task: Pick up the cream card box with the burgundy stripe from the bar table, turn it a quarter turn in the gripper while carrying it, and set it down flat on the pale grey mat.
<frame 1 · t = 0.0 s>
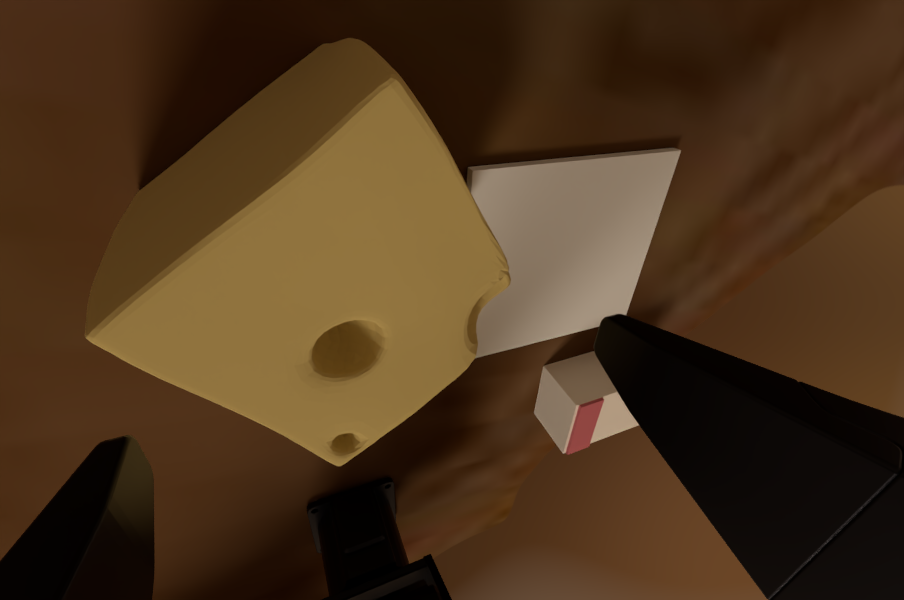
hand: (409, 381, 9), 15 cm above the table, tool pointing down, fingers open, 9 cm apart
cheese: (308, 200, 21), on the table
card box: (580, 375, 38), on the table
grey mat: (559, 256, 29), on the table
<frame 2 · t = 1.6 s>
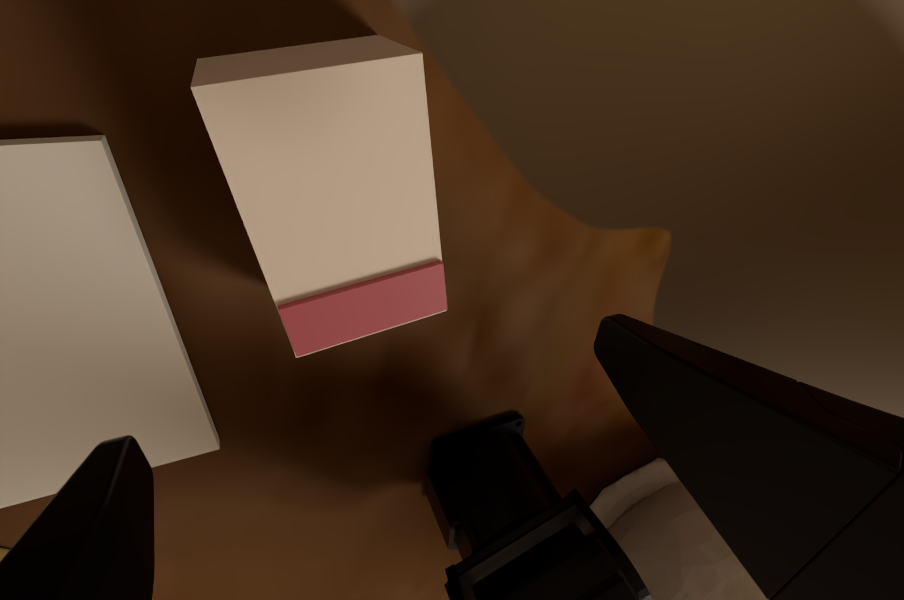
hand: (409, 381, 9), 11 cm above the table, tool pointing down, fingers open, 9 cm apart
card box: (324, 175, 17), on the table
ceramic pitcher: (618, 497, 46), on the table
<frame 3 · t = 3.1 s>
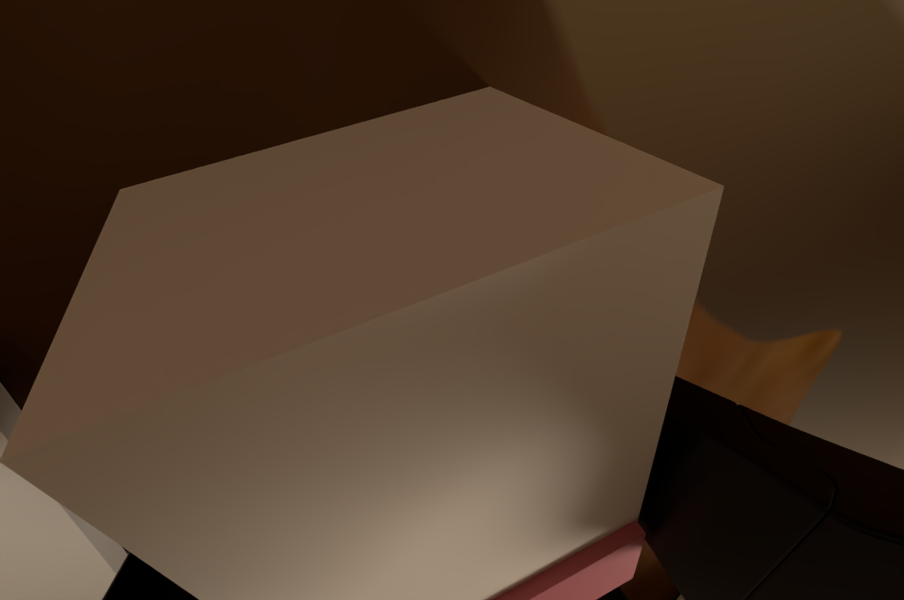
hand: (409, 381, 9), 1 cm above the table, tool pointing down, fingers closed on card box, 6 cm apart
card box: (388, 338, 9), on the table, touching gripper
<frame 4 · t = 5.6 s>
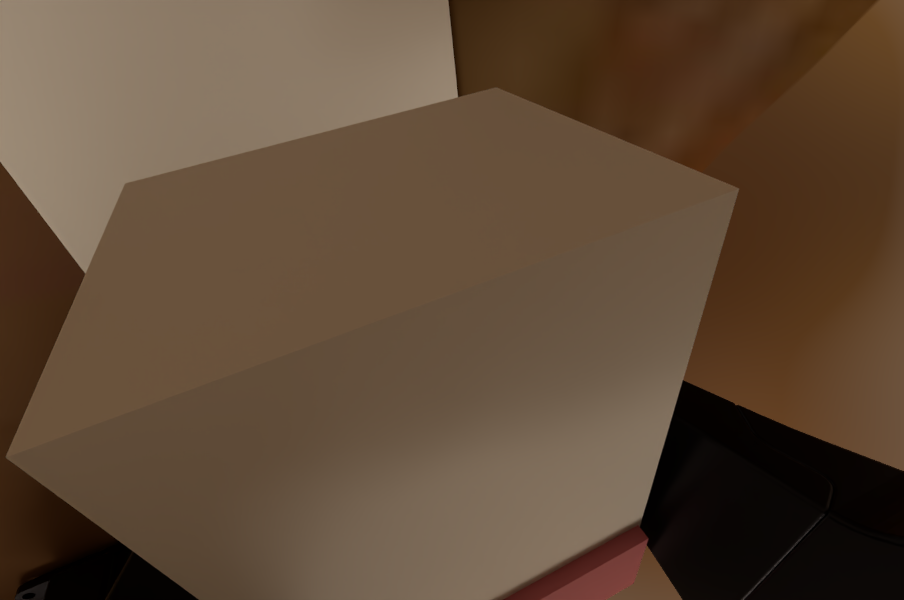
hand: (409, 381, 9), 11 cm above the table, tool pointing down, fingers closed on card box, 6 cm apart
card box: (390, 339, 9), point 10 cm above the table, touching gripper
grey mat: (265, 134, 15), on the table
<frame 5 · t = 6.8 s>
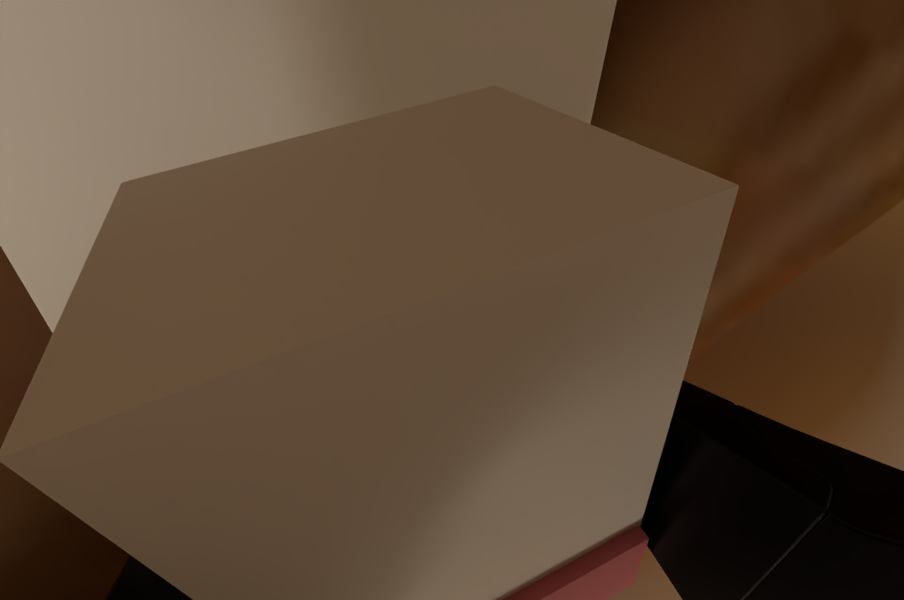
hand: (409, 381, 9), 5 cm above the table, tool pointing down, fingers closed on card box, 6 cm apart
card box: (389, 338, 9), point 4 cm above the table, touching gripper
grey mat: (349, 245, 13), on the table
when the fingers open (3 cm above the table, at t = 7.7 s): card box drops 2 cm, resting on grey mat.
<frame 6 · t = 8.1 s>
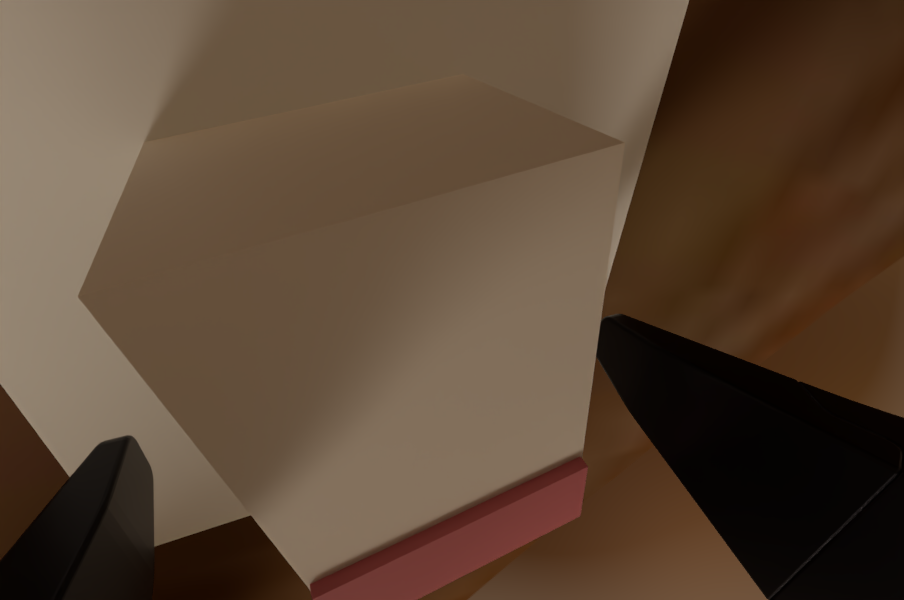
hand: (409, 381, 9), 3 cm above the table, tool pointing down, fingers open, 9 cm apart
card box: (370, 297, 10), point 1 cm above the table, touching grey mat
grey mat: (368, 291, 11), on the table
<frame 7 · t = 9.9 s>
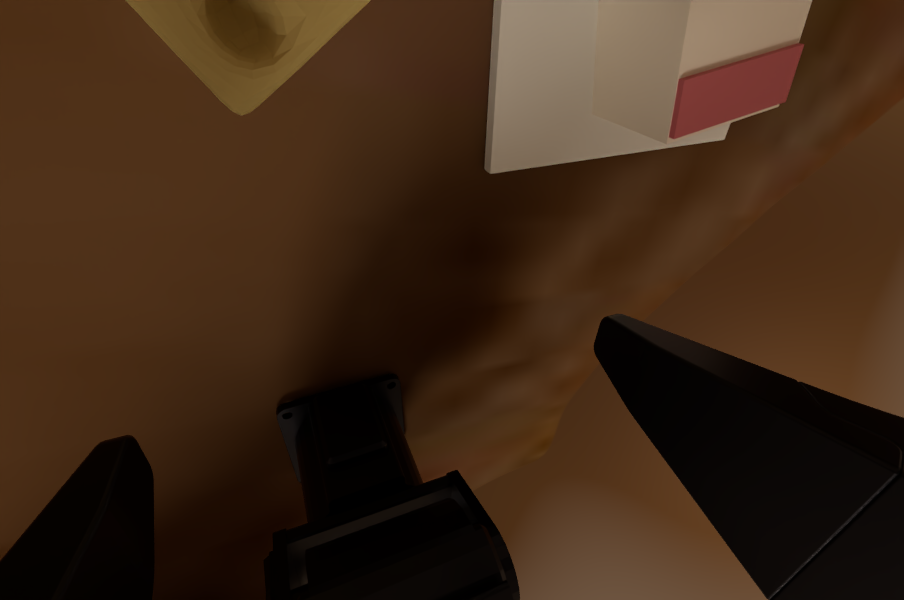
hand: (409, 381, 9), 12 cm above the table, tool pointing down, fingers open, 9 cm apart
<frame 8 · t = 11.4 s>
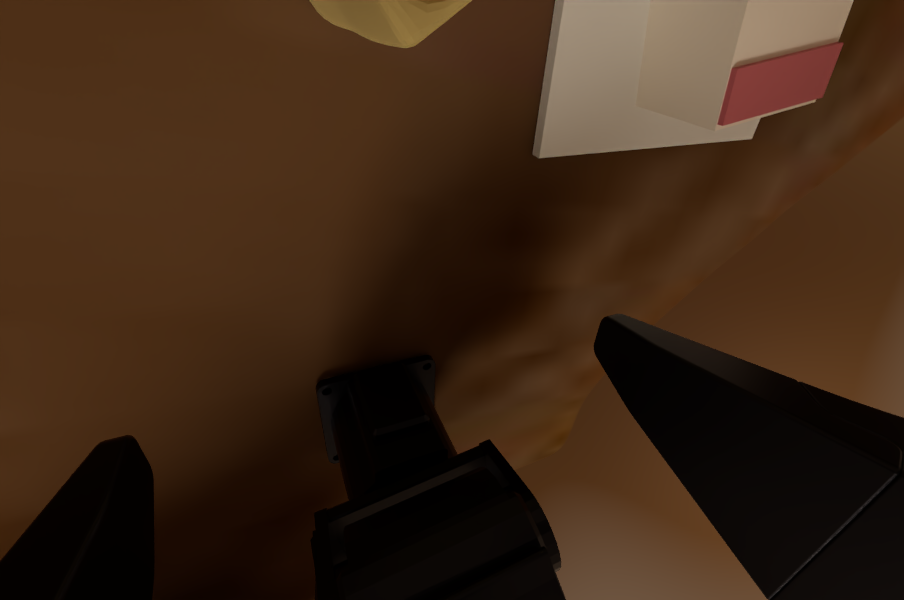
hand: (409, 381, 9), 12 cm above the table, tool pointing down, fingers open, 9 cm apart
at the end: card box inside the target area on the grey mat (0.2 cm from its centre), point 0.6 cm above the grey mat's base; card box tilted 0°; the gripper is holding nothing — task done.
